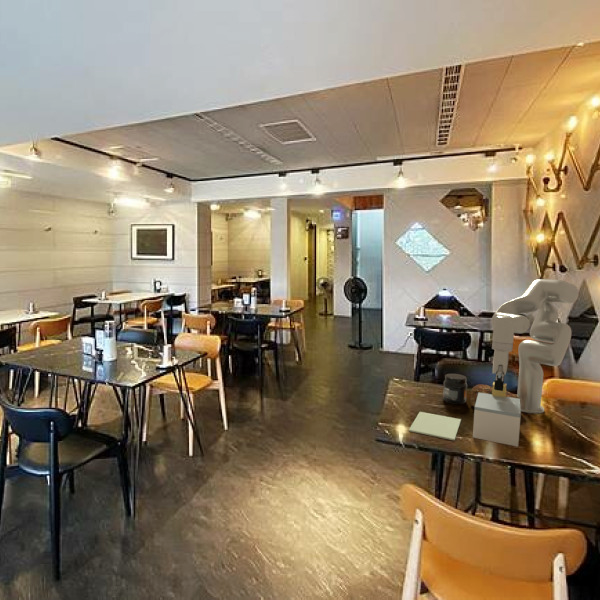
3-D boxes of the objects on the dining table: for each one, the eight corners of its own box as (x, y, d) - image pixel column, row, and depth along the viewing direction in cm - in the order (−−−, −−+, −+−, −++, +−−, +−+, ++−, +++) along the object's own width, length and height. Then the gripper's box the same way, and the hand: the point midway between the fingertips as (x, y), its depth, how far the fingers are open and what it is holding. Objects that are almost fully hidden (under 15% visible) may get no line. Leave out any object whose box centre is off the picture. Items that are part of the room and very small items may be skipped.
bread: (468, 406, 190) (470, 385, 189) (481, 401, 196) (483, 381, 195) (508, 419, 175) (510, 396, 174) (521, 414, 181) (523, 392, 180)
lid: (478, 395, 175) (479, 380, 174) (519, 401, 168) (520, 385, 167) (474, 412, 156) (475, 395, 155) (520, 420, 149) (521, 402, 148)
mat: (419, 412, 181) (419, 411, 180) (460, 420, 173) (461, 419, 173) (408, 431, 162) (408, 429, 162) (454, 440, 154) (454, 439, 154)
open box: (476, 420, 173) (478, 395, 172) (517, 427, 166) (519, 401, 165) (472, 437, 157) (474, 409, 156) (518, 446, 150) (520, 417, 149)
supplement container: (468, 399, 198) (469, 375, 196) (464, 406, 189) (465, 381, 187) (445, 395, 203) (446, 371, 202) (440, 402, 194) (441, 377, 193)
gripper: (493, 341, 176) (490, 380, 178) (491, 348, 161) (487, 391, 163) (512, 343, 173) (509, 383, 175) (512, 351, 157) (508, 394, 159)
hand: (498, 386), depth 169 cm, fingers open, 9 cm apart
